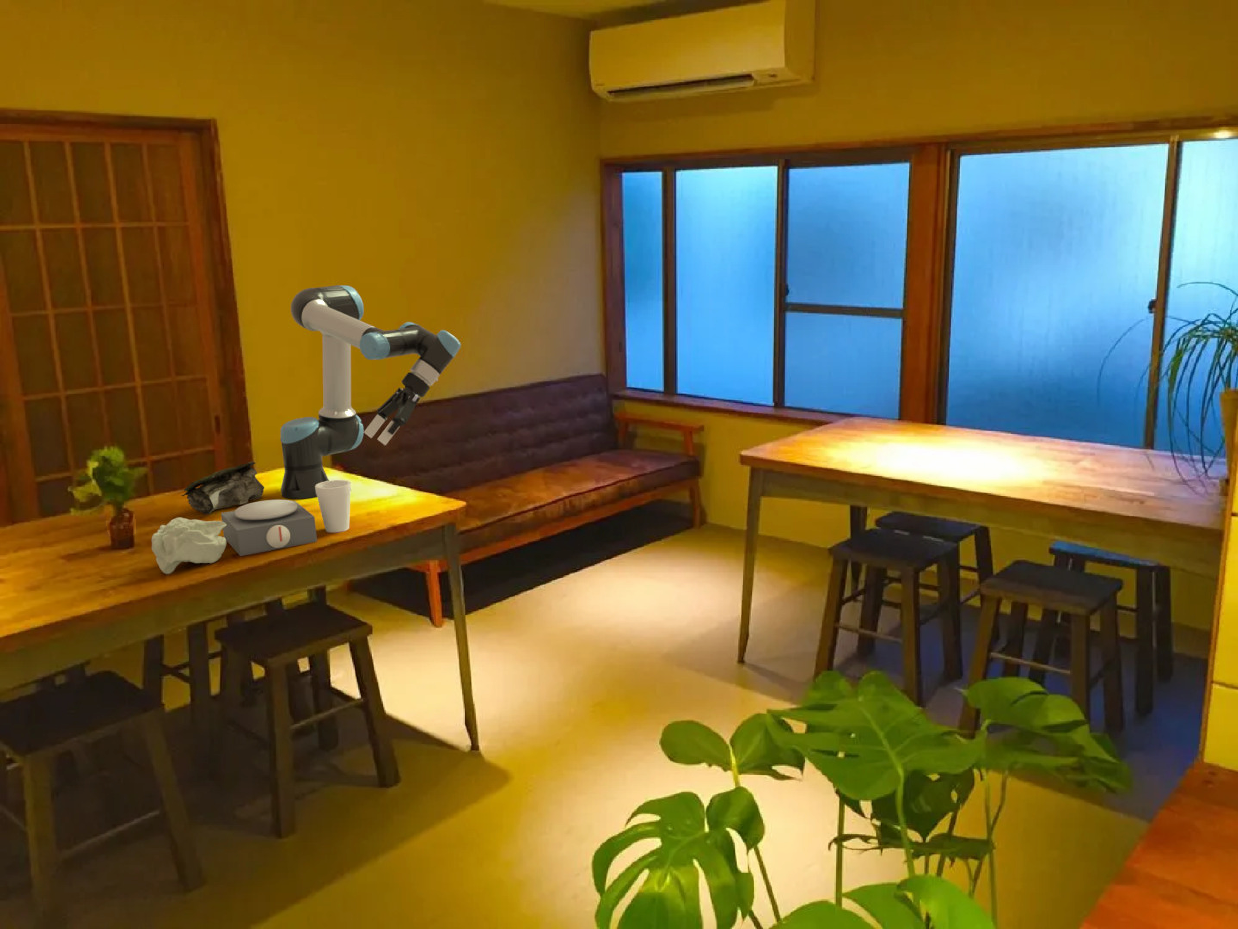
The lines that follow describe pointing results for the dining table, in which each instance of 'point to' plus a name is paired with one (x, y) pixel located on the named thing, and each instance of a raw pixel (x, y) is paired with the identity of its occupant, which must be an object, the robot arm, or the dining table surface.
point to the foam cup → (334, 504)
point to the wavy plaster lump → (187, 543)
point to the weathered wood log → (224, 489)
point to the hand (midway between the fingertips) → (374, 438)
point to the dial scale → (268, 526)
